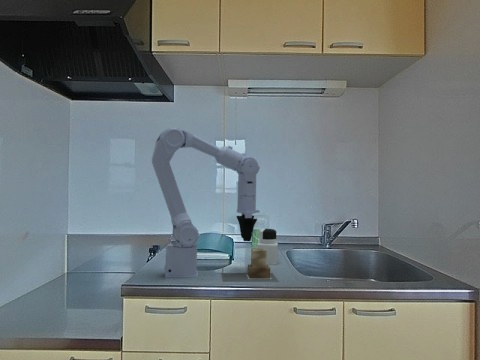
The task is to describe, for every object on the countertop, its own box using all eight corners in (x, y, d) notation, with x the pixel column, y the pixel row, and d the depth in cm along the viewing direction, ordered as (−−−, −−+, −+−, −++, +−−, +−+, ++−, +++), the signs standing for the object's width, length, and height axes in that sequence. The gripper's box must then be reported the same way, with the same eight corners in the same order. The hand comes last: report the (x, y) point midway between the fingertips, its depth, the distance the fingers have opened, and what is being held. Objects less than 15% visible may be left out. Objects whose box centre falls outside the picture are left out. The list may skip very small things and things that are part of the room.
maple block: (252, 267, 138) (253, 250, 138) (251, 265, 142) (251, 248, 142) (266, 267, 139) (266, 250, 139) (264, 265, 143) (264, 248, 143)
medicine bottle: (277, 262, 167) (278, 228, 167) (277, 265, 160) (277, 230, 160) (257, 261, 168) (258, 227, 168) (256, 265, 161) (256, 229, 161)
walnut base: (249, 278, 137) (249, 268, 137) (247, 274, 143) (247, 264, 143) (270, 278, 138) (270, 268, 138) (267, 274, 144) (267, 264, 144)
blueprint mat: (222, 282, 133) (222, 281, 133) (220, 274, 145) (220, 272, 145) (279, 282, 134) (279, 281, 134) (272, 274, 146) (272, 273, 146)
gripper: (262, 197, 140) (261, 242, 141) (257, 195, 155) (256, 236, 155) (238, 196, 140) (237, 242, 140) (235, 194, 154) (234, 236, 154)
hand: (245, 239), depth 147 cm, fingers open, 7 cm apart
